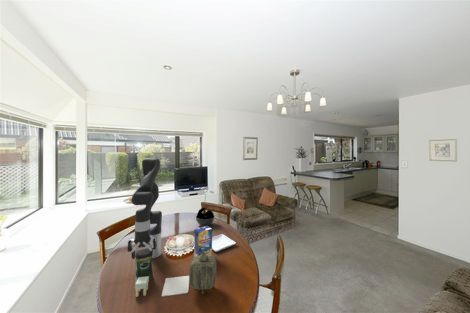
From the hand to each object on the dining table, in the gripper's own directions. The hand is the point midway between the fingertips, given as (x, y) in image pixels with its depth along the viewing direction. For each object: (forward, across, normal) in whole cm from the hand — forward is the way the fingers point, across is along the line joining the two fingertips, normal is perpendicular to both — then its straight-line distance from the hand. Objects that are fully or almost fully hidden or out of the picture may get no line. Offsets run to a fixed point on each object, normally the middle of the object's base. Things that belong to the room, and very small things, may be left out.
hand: (142, 257), depth 99 cm
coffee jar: (+20, +2, -11) cm, 23 cm away
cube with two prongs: (+20, 0, 0) cm, 20 cm away
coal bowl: (+20, -38, -89) cm, 99 cm away
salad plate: (+20, -48, -45) cm, 69 cm away
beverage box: (+20, -34, -27) cm, 48 cm away
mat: (+20, -18, -2) cm, 27 cm away
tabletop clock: (+20, -33, +5) cm, 39 cm away
